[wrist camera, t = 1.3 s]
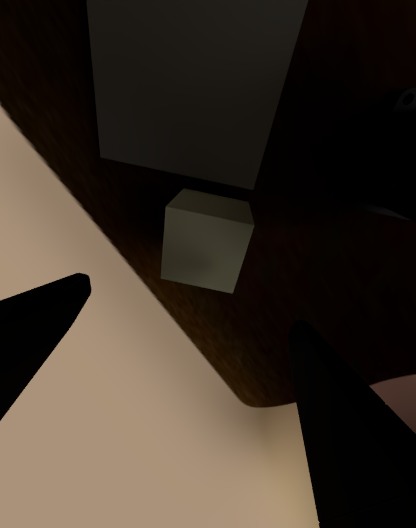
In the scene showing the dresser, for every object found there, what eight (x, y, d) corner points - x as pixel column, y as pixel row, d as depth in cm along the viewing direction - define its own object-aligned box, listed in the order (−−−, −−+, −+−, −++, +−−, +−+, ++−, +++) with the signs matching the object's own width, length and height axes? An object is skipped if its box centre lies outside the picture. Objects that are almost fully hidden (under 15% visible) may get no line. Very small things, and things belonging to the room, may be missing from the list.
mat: (325, -65, 9) (329, -76, 9) (252, 188, 15) (253, 190, 15) (81, -120, 9) (74, -133, 9) (104, 156, 15) (100, 157, 14)
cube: (248, 201, 16) (254, 225, 11) (232, 257, 18) (232, 293, 14) (183, 188, 16) (165, 206, 11) (177, 245, 18) (160, 278, 14)
